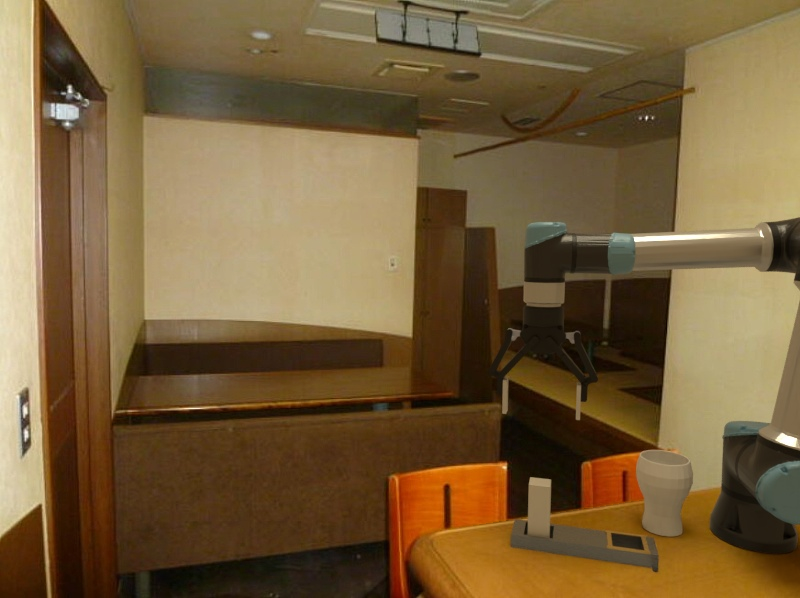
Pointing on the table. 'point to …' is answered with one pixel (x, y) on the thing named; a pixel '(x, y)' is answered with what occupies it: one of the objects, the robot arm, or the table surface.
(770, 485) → the robot arm
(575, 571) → the table surface
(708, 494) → the table surface
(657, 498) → the cup
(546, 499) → the peg
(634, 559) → the grey peg hole board
